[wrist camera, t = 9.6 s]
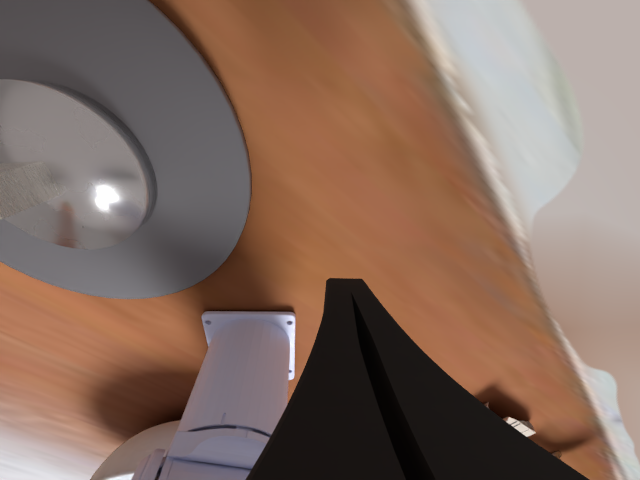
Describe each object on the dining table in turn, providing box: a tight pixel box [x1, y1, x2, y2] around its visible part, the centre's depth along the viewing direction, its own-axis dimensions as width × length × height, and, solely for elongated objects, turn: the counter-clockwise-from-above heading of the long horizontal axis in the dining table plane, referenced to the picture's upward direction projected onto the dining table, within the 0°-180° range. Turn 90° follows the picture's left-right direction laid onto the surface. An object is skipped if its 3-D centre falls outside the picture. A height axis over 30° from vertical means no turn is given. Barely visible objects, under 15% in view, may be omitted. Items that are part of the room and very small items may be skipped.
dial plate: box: [0, 0, 252, 299], centre depth 15 cm, size 20×20×1 cm
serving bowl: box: [90, 420, 181, 480], centre depth 31 cm, size 21×21×7 cm
